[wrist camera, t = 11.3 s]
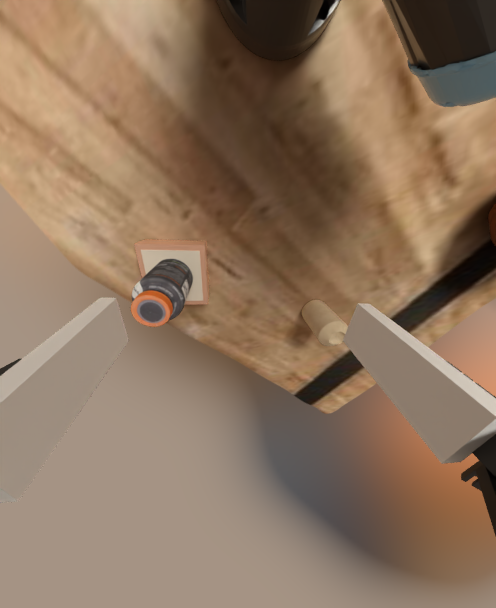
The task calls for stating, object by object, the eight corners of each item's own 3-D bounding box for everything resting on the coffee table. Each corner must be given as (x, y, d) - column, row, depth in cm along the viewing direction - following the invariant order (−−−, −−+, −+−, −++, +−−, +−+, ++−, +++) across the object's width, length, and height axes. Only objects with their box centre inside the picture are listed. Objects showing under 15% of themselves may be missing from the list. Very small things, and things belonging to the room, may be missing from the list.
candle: (300, 322, 43) (321, 354, 34) (301, 301, 40) (323, 328, 31) (324, 319, 43) (350, 349, 34) (326, 297, 40) (355, 323, 31)
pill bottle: (145, 272, 29) (105, 307, 19) (174, 249, 28) (148, 274, 18) (173, 300, 32) (151, 343, 22) (201, 280, 31) (190, 316, 21)
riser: (144, 239, 31) (133, 244, 27) (206, 240, 32) (204, 245, 29) (155, 294, 36) (147, 305, 32) (209, 294, 37) (208, 304, 33)
